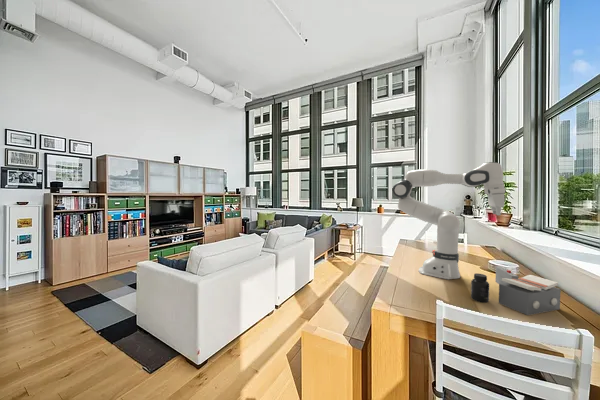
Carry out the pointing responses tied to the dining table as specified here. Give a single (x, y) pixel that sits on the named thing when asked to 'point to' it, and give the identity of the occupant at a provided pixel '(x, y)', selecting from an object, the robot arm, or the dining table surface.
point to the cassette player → (504, 274)
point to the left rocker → (522, 284)
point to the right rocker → (539, 281)
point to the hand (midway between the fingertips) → (496, 214)
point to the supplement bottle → (480, 288)
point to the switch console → (529, 299)
